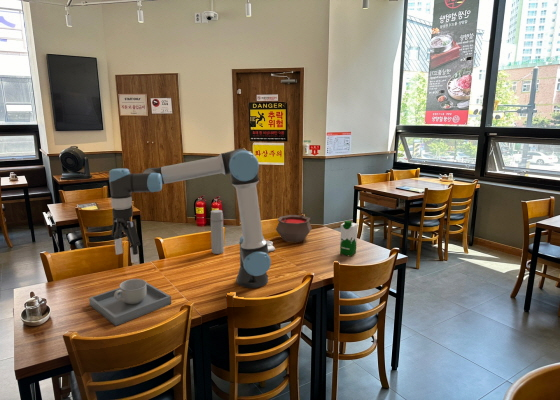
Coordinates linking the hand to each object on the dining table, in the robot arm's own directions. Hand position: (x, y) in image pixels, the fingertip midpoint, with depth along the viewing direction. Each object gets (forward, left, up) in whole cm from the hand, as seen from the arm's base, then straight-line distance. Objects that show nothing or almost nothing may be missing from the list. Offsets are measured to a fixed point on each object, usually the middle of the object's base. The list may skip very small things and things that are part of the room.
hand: (127, 257), depth 155 cm
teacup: (0, 0, -20) cm, 20 cm away
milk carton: (-34, -116, -21) cm, 123 cm away
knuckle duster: (+9, -86, -22) cm, 89 cm away
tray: (0, 0, -21) cm, 21 cm away
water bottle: (+24, -66, -21) cm, 73 cm away
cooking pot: (+7, -115, -21) cm, 117 cm away
